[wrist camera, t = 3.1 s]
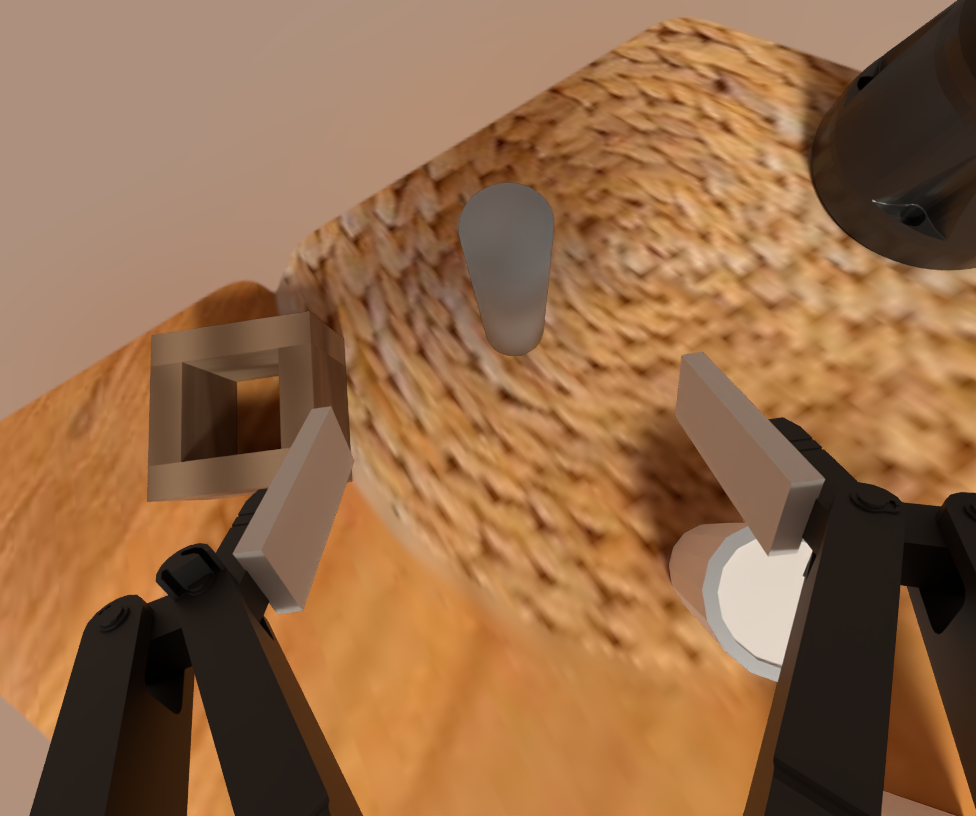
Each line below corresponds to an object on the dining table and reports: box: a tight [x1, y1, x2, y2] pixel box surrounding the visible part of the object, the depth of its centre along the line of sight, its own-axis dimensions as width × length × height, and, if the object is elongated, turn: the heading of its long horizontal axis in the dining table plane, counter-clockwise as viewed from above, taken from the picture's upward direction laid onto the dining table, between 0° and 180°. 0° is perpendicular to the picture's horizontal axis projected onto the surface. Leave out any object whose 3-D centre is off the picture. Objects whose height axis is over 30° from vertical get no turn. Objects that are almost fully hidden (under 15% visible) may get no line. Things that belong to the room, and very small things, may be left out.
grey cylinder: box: [458, 183, 554, 356], centre depth 24 cm, size 4×4×12 cm
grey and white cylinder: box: [669, 522, 812, 682], centre depth 23 cm, size 7×7×7 cm
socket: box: [147, 311, 352, 502], centre depth 28 cm, size 10×10×5 cm
